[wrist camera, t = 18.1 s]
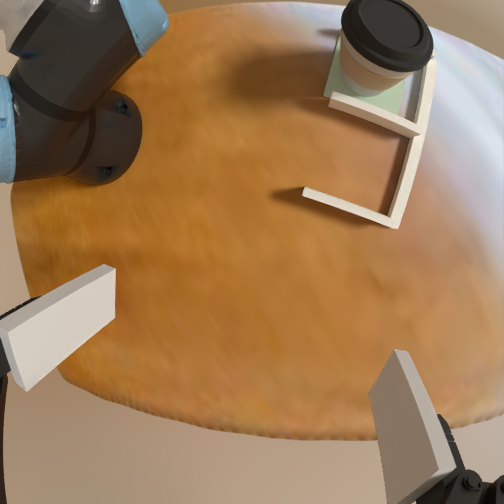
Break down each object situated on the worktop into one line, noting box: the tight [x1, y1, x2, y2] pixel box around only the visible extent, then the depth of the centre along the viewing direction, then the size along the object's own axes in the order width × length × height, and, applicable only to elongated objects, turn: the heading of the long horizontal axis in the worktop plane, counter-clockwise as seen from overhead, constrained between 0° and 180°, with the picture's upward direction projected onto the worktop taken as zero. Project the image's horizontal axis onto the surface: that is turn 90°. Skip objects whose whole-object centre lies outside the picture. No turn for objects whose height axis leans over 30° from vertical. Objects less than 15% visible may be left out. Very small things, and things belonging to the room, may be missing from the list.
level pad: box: [323, 34, 405, 115], centre depth 29 cm, size 10×10×1 cm
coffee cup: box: [339, 0, 433, 97], centre depth 22 cm, size 9×9×15 cm
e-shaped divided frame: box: [302, 50, 437, 229], centre depth 29 cm, size 13×25×4 cm, turn 164°
